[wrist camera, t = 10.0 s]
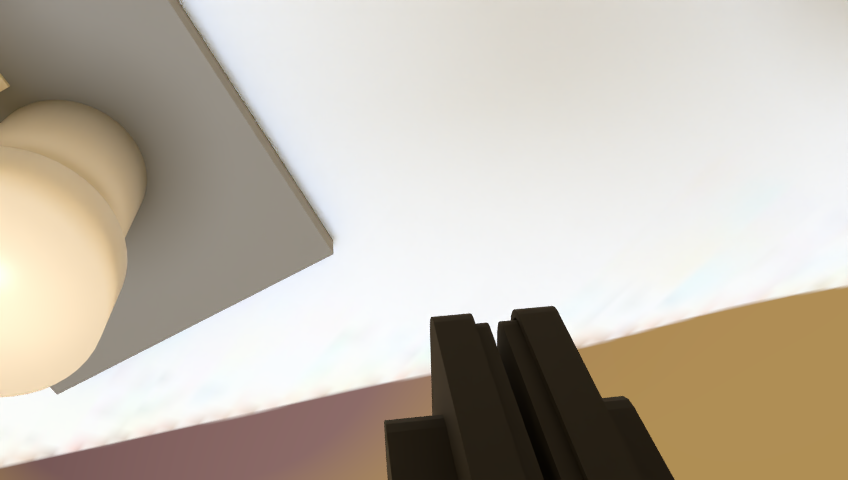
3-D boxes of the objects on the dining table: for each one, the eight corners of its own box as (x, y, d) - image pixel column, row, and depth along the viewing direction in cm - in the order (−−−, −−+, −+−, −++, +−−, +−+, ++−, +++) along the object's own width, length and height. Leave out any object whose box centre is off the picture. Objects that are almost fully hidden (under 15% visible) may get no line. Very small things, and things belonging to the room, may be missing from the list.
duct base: (93, -130, 33) (22, -118, 25) (332, 240, 42) (336, 335, 34) (-233, 63, 35) (-396, 131, 27) (65, 377, 44) (9, 498, 36)
